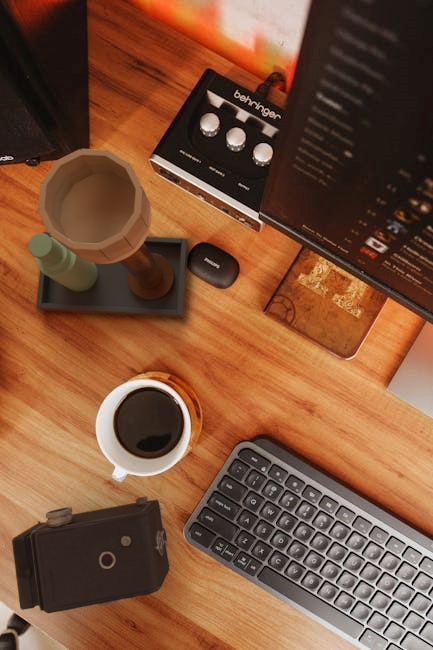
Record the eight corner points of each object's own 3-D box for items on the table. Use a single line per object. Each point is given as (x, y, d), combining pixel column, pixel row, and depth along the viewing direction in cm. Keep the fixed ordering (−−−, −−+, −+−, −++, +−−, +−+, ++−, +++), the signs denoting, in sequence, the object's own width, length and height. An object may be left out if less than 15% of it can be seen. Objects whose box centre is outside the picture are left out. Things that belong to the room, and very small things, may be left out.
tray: (43, 310, 68) (36, 307, 66) (50, 237, 69) (43, 231, 67) (183, 318, 67) (181, 315, 65) (188, 243, 68) (186, 238, 66)
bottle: (60, 291, 68) (15, 266, 54) (63, 255, 68) (19, 222, 55) (96, 292, 67) (60, 268, 54) (99, 257, 68) (64, 223, 54)
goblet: (119, 306, 67) (33, 247, 39) (123, 246, 68) (43, 146, 40) (180, 309, 67) (137, 252, 39) (184, 249, 67) (145, 150, 40)
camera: (159, 478, 66) (31, 505, 65) (154, 492, 55) (-1, 526, 54) (176, 570, 65) (46, 600, 63) (175, 604, 53) (16, 642, 52)
